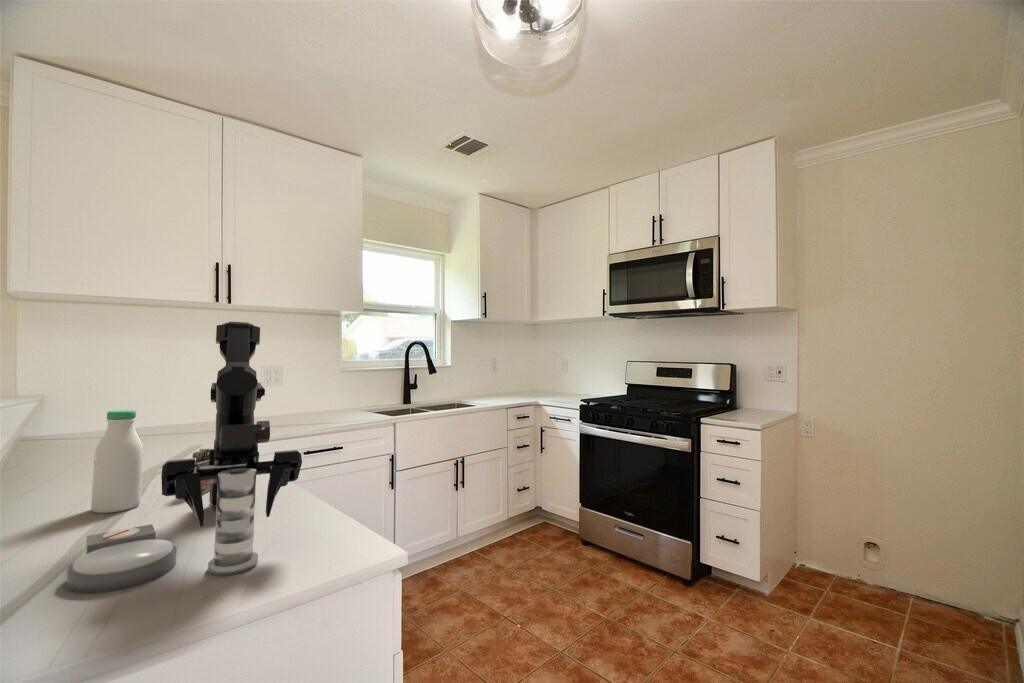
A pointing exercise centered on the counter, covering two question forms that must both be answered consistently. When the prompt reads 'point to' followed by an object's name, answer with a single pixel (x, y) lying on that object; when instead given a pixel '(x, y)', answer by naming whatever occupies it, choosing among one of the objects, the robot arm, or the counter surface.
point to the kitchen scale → (121, 560)
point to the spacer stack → (234, 523)
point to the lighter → (203, 460)
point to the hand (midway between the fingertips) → (236, 520)
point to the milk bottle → (118, 465)
